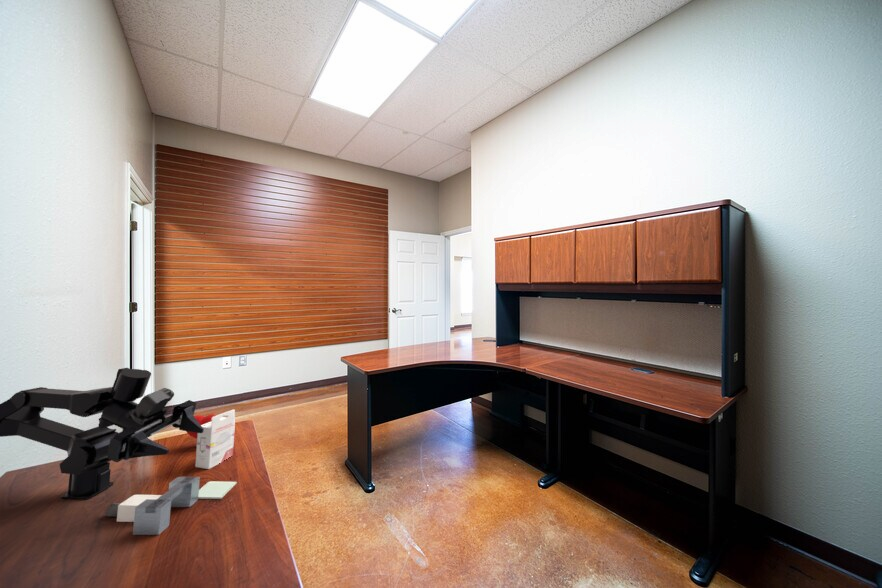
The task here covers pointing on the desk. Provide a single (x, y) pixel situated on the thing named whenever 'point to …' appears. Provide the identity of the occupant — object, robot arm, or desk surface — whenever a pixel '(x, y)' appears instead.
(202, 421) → the red rounded lobed piece
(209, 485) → the mat
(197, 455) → the ink cartridge box
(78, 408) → the robot arm
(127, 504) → the plug
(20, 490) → the desk surface
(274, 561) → the desk surface
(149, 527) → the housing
